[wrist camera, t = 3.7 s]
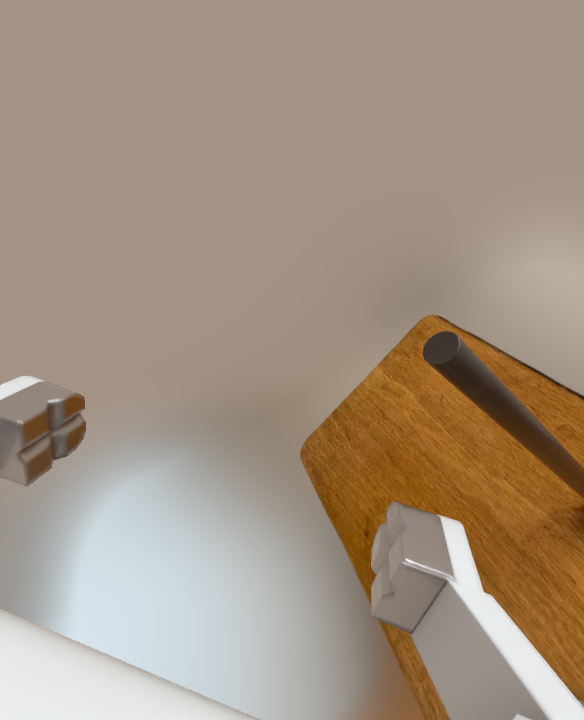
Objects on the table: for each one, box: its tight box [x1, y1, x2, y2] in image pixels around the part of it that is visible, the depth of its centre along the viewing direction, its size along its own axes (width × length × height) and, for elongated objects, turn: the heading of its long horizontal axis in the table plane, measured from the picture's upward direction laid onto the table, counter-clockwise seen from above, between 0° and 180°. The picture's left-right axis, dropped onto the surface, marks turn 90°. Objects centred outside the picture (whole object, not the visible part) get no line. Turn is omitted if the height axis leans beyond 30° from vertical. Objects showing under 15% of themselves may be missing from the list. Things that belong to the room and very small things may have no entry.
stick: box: [423, 331, 584, 498], centre depth 26 cm, size 4×4×38 cm
